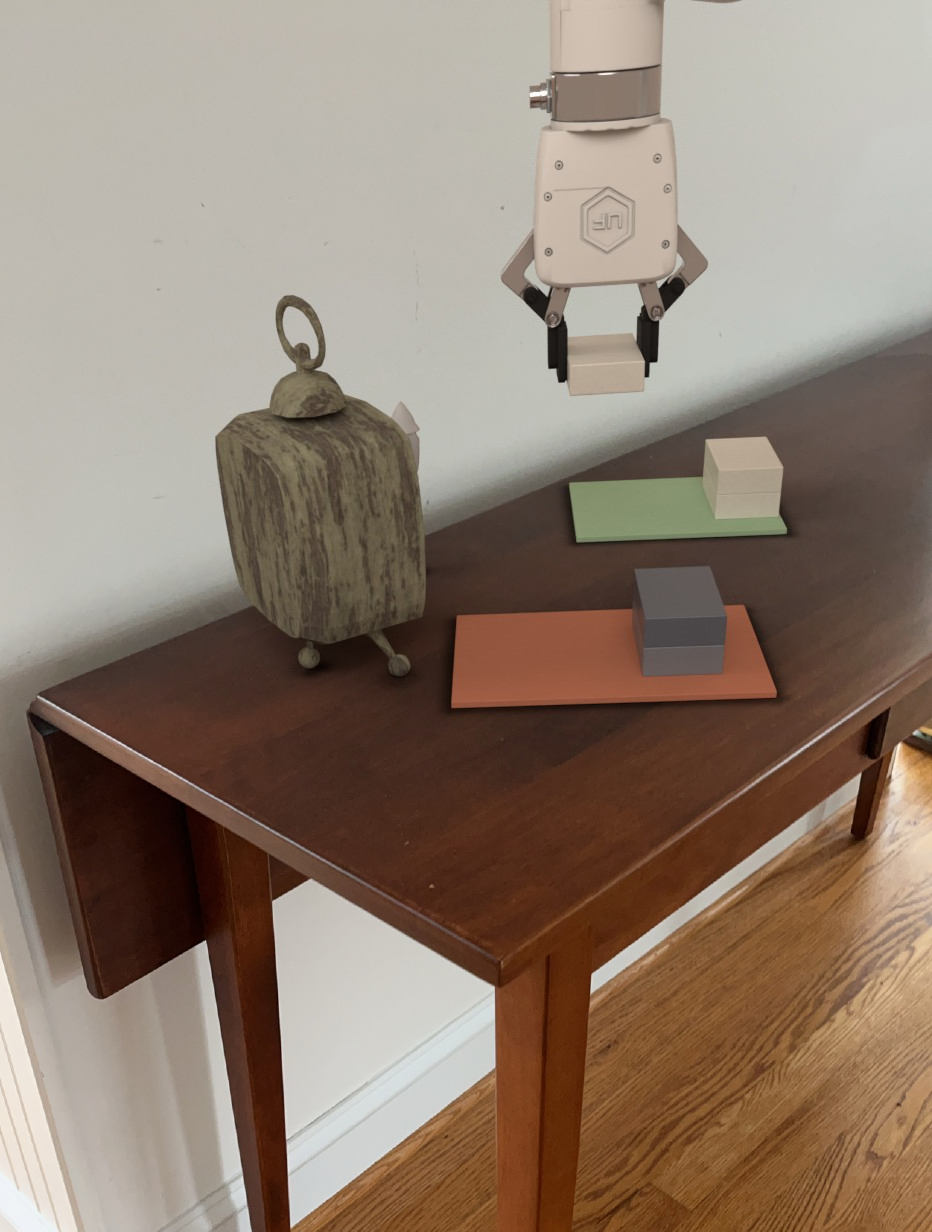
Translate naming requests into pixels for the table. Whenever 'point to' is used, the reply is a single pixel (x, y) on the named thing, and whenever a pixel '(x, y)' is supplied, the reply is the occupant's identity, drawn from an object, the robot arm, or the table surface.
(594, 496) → the green mat
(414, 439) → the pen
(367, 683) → the table surface
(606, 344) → the cream flat block
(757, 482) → the beige lidded box
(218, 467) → the tabletop clock
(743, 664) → the terracotta rectangular mat
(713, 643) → the grey blocks
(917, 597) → the table surface
